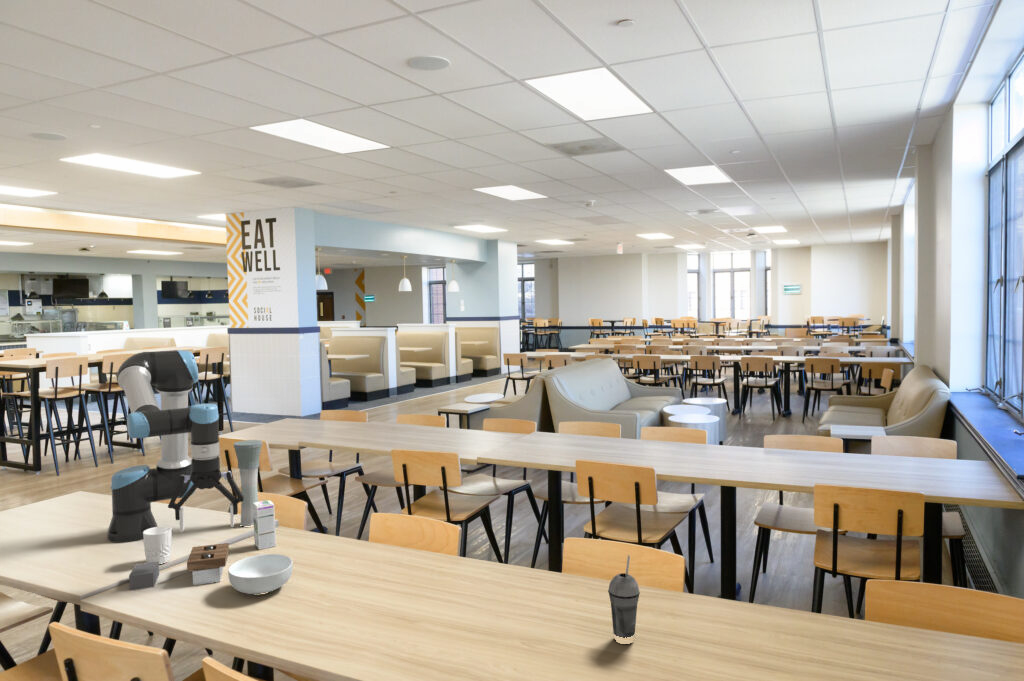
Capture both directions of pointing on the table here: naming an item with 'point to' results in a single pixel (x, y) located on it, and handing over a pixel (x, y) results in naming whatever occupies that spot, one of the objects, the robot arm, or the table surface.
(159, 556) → the white cup
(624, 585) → the beverage cup
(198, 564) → the board
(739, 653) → the table surface
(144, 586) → the riser
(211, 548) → the chassis
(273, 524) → the syrup box
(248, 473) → the container
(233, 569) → the cereal bowl
